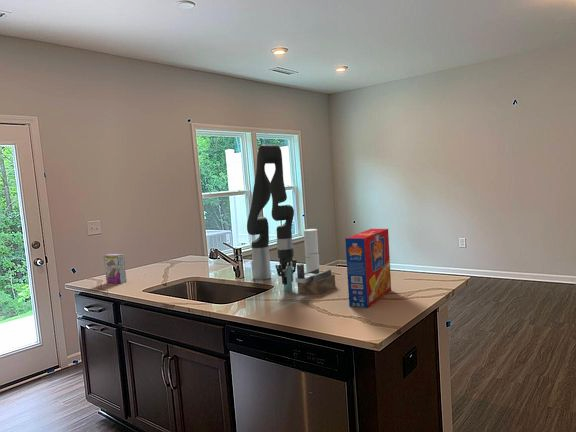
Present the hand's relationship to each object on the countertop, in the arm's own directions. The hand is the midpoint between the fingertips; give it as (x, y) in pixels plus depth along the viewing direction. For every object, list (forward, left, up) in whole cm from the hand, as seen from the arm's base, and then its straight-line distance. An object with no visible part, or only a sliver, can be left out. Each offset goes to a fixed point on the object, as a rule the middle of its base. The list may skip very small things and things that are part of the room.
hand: (287, 283), depth 210 cm
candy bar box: (-106, -25, -4) cm, 109 cm away
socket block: (+11, +8, -4) cm, 14 cm away
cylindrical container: (-6, +30, -4) cm, 31 cm away
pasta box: (+41, +5, -4) cm, 42 cm away
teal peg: (0, 0, -4) cm, 4 cm away
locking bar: (+11, 0, +2) cm, 11 cm away
